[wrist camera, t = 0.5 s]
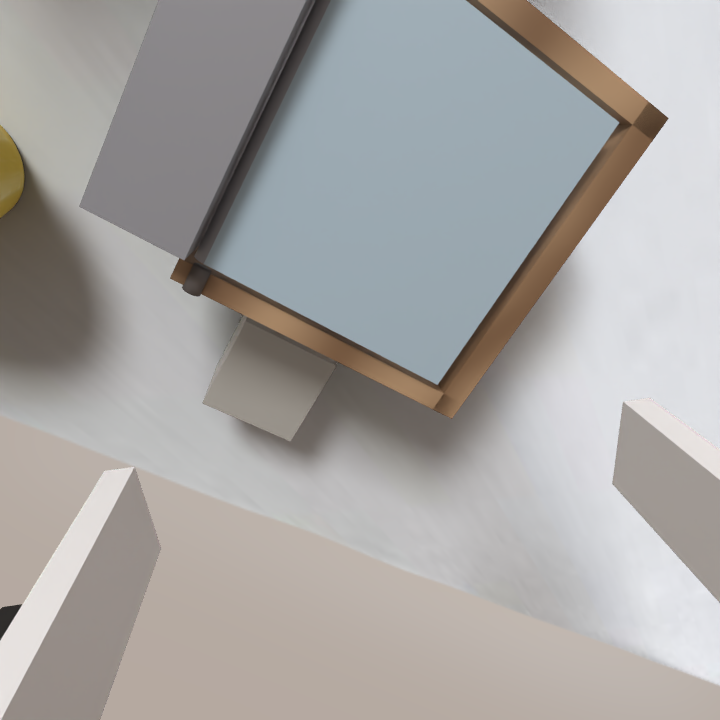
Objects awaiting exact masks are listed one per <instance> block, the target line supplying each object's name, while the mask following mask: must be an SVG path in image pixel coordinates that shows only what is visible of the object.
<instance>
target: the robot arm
mask: <svg viewBox="0 0 720 720" xmlns="http://www.w3.org/2000/svg"><path fill="white" fill-rule="evenodd" d="M612 484H613V485H614V486H615V487H616V488H617V490H618V491H619V492H620V493H621V494H622V495H623V496H624V497H625V498H626V500H627V501H628V502H629V503H630V504H631V505H632V506H633V507H634V508H635V509H636V511H637V512H638V513H639V514H640V515H641V516H642V517H643V518H644V519H645V521H646V522H647V523H648V524H649V525H650V526H651V527H652V528H653V529H654V531H655V532H656V533H657V534H658V535H659V536H660V537H661V538H662V539H663V541H664V542H665V543H666V544H667V545H668V546H669V547H670V548H671V549H672V551H673V552H674V553H675V554H676V555H677V556H678V557H679V558H680V559H681V560H682V562H683V563H684V564H685V565H686V566H687V567H688V568H689V569H690V570H691V572H692V573H693V574H694V575H695V576H696V577H697V578H698V579H699V580H700V582H701V583H702V584H703V585H704V586H705V587H706V588H707V589H708V590H709V592H710V593H711V594H712V595H713V596H714V597H715V598H716V599H717V600H718V601H719V603H720V449H719V448H717V447H716V446H715V445H713V444H712V443H710V442H709V441H708V440H706V439H705V438H704V437H702V436H701V435H700V434H698V433H697V432H696V431H694V430H693V429H692V428H690V427H689V426H687V425H686V424H685V423H683V422H682V421H681V420H679V419H678V418H677V417H675V416H674V415H673V414H671V413H670V412H668V411H667V410H666V409H664V408H663V407H662V406H660V405H659V404H658V403H656V402H655V401H654V400H652V399H651V398H646V399H638V400H631V401H623V406H622V414H621V421H620V429H619V437H618V445H617V452H616V460H615V468H614V476H613V483H612ZM160 550H161V546H160V543H159V540H158V537H157V534H156V531H155V528H154V525H153V522H152V519H151V516H150V512H149V509H148V506H147V503H146V500H145V497H144V494H143V491H142V488H141V485H140V482H139V479H138V476H137V472H136V470H135V467H130V468H123V469H116V470H107V471H104V473H103V474H102V476H101V477H100V479H99V481H98V482H97V484H96V486H95V487H94V489H93V491H92V492H91V494H90V496H89V497H88V499H87V500H86V502H85V504H84V505H83V507H82V508H81V510H80V512H79V513H78V515H77V516H76V518H75V520H74V521H73V523H72V525H71V526H70V528H69V530H68V531H67V533H66V534H65V536H64V538H63V539H62V541H61V543H60V544H59V546H58V547H57V549H56V551H55V552H54V554H53V556H52V557H51V559H50V561H49V562H48V564H47V565H46V567H45V569H44V570H43V572H42V574H41V575H40V577H39V578H38V580H37V582H36V583H35V585H34V587H33V588H32V590H31V591H30V593H29V595H28V597H27V598H26V600H25V601H24V603H23V604H21V605H15V606H7V607H2V608H1V609H0V720H100V719H101V716H102V713H103V710H104V707H105V704H106V702H107V698H108V696H109V693H110V690H111V688H112V685H113V682H114V679H115V676H116V674H117V671H118V668H119V665H120V662H121V660H122V656H123V654H124V651H125V648H126V646H127V643H128V640H129V637H130V634H131V631H132V628H133V626H134V623H135V620H136V617H137V615H138V612H139V609H140V606H141V603H142V600H143V598H144V595H145V592H146V589H147V587H148V584H149V581H150V578H151V575H152V573H153V570H154V567H155V564H156V561H157V559H158V556H159V553H160Z"/></svg>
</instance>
